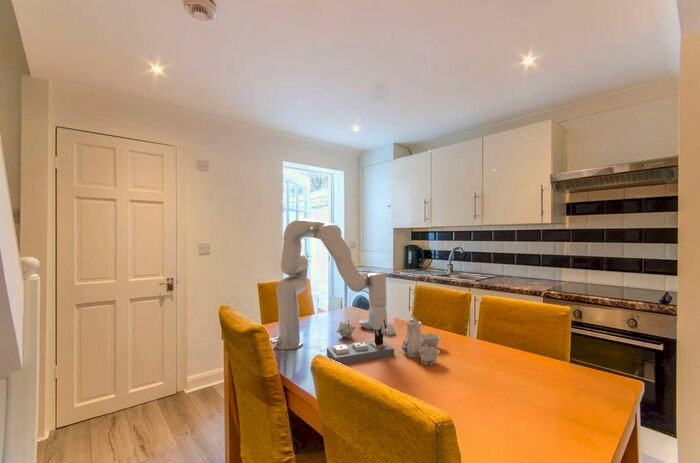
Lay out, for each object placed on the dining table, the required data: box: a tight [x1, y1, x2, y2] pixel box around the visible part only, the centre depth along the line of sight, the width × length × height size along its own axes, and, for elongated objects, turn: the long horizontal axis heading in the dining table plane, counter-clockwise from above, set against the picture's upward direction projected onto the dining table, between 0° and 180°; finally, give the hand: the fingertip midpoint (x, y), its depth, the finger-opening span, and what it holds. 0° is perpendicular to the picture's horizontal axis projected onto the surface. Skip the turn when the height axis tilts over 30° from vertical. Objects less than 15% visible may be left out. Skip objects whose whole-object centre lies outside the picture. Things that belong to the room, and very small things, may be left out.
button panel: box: [326, 340, 395, 365], centre depth 137 cm, size 26×12×3 cm, turn 110°
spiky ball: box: [335, 320, 356, 340], centre depth 160 cm, size 9×8×10 cm
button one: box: [333, 343, 349, 354], centre depth 134 cm, size 5×5×3 cm
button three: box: [371, 343, 386, 348], centre depth 140 cm, size 5×5×3 cm
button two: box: [352, 341, 368, 351], centre depth 137 cm, size 5×5×3 cm
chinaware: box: [400, 315, 442, 366], centre depth 136 cm, size 28×17×17 cm, turn 169°
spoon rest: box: [358, 318, 396, 336], centre depth 172 cm, size 24×12×7 cm, turn 37°
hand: (378, 343), depth 140 cm, fingers closed
